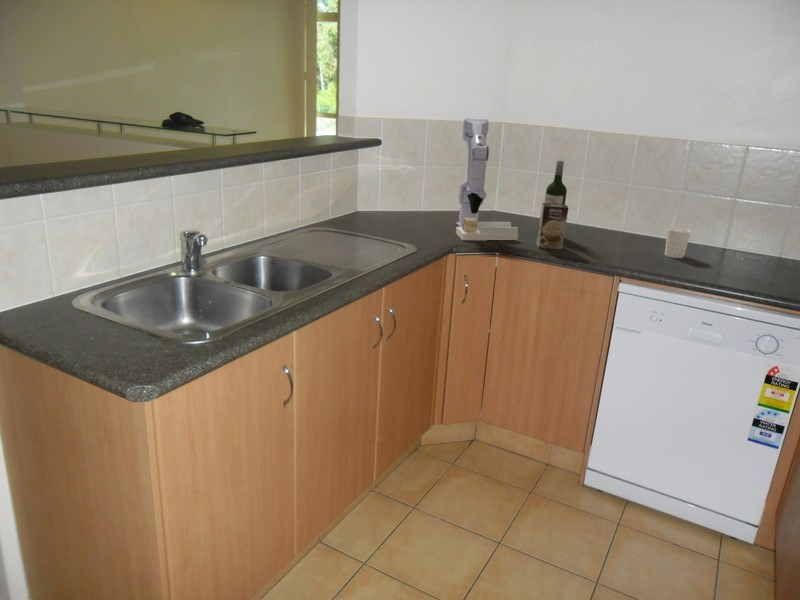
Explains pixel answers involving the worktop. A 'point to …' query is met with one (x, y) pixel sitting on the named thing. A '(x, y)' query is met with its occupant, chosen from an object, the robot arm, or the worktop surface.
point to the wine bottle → (556, 187)
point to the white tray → (490, 231)
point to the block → (469, 224)
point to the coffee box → (552, 226)
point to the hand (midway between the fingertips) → (474, 213)
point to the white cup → (676, 242)
